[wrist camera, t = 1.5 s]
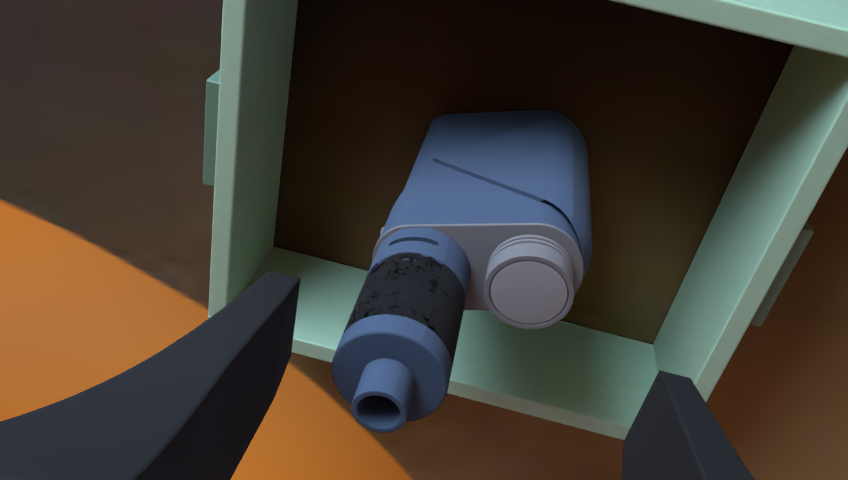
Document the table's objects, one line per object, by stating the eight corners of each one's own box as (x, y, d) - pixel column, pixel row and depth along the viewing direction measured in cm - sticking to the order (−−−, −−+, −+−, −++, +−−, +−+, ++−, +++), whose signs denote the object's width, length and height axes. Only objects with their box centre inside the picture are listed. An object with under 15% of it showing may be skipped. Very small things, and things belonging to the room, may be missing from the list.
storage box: (676, 364, 27) (694, 459, 23) (243, 251, 28) (191, 326, 24) (861, -2, 20) (929, 48, 16) (273, -143, 20) (205, -125, 17)
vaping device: (416, 110, 24) (300, 355, 13) (587, 103, 23) (601, 364, 12) (424, 183, 25) (325, 458, 15) (587, 180, 24) (600, 473, 14)
